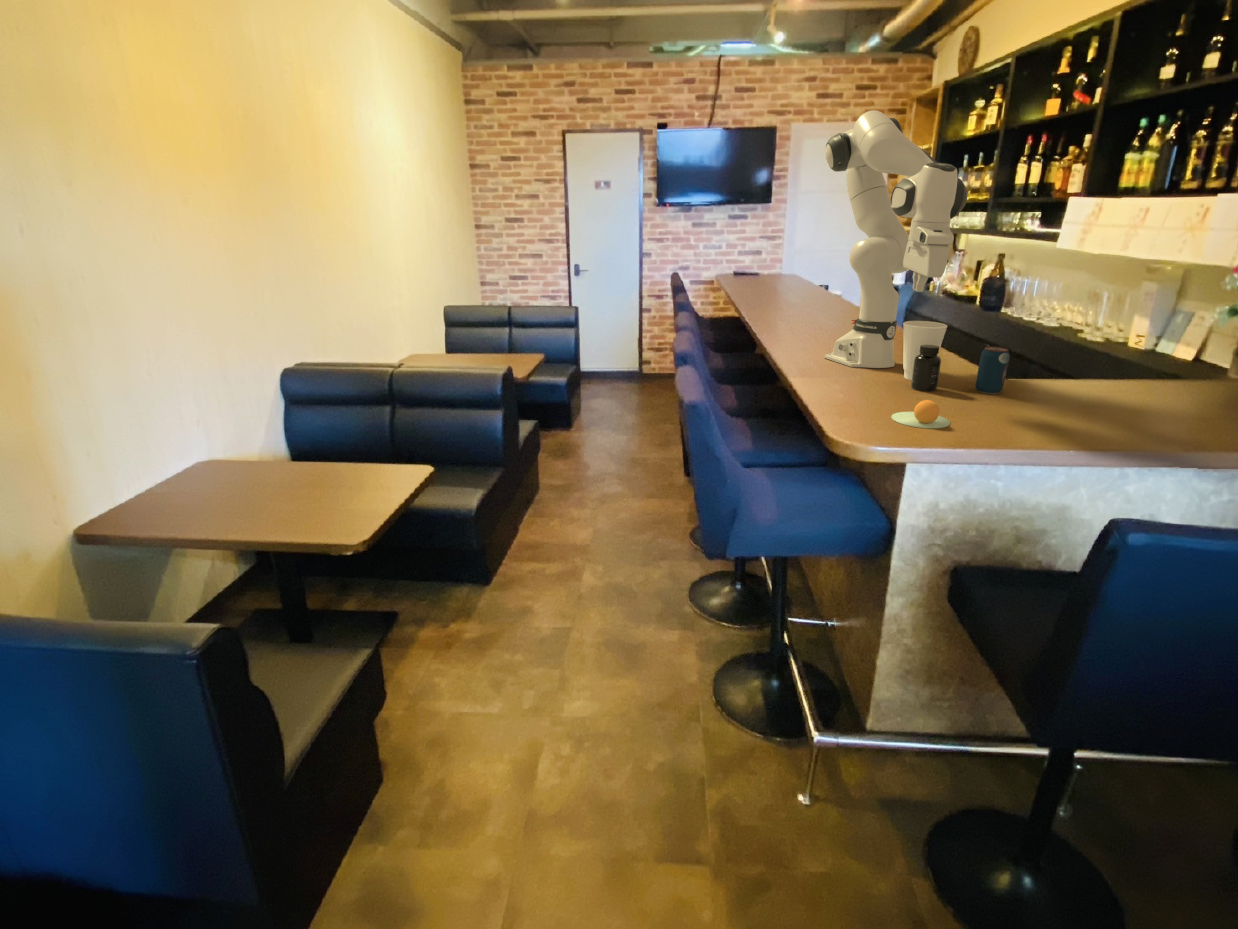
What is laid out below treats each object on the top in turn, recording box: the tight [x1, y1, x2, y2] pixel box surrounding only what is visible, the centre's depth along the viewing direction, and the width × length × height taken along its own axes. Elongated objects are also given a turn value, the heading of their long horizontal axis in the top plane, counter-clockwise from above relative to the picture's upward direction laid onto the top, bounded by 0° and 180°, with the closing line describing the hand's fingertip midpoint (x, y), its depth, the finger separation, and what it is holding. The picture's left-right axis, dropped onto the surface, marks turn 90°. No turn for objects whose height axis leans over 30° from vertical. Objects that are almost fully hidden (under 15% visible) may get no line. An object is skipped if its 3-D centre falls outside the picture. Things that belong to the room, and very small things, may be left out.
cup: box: [902, 320, 948, 381], centre depth 203 cm, size 12×12×16 cm
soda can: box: [974, 345, 1011, 395], centre depth 190 cm, size 7×7×12 cm
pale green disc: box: [890, 411, 951, 429], centre depth 166 cm, size 13×13×1 cm
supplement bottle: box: [910, 345, 942, 392], centre depth 192 cm, size 7×7×12 cm
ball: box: [913, 399, 940, 423], centre depth 163 cm, size 6×6×6 cm
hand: (917, 290), depth 177 cm, fingers closed
